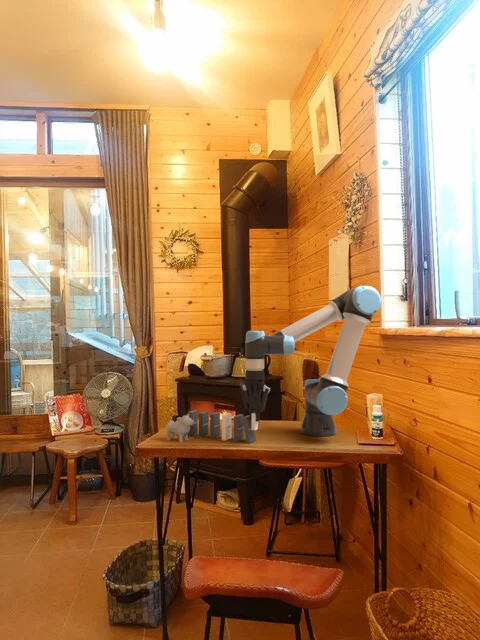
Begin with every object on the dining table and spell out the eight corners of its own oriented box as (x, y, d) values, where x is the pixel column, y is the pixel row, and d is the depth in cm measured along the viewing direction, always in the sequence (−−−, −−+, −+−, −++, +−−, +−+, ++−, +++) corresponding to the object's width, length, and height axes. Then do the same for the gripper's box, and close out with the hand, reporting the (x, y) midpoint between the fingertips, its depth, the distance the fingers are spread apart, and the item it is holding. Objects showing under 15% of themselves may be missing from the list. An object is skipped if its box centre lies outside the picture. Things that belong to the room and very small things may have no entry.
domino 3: (220, 436, 188) (220, 412, 188) (214, 439, 183) (213, 414, 184) (216, 436, 189) (216, 412, 189) (209, 438, 184) (209, 414, 185)
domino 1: (197, 434, 193) (197, 410, 193) (191, 436, 188) (191, 412, 189) (193, 433, 194) (193, 410, 194) (187, 435, 189) (187, 412, 190)
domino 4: (243, 439, 183) (243, 414, 183) (238, 442, 178) (238, 416, 179) (239, 438, 184) (239, 414, 184) (233, 441, 179) (233, 416, 180)
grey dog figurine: (188, 443, 176) (188, 416, 176) (164, 439, 183) (164, 413, 183) (196, 441, 180) (196, 414, 181) (172, 437, 187) (172, 411, 188)
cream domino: (231, 437, 185) (231, 413, 186) (225, 440, 181) (225, 415, 181) (227, 437, 186) (227, 413, 187) (221, 440, 182) (221, 415, 182)
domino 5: (255, 440, 180) (252, 414, 182) (250, 442, 176) (246, 417, 177) (251, 440, 181) (247, 415, 182) (246, 443, 177) (242, 417, 178)
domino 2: (208, 435, 190) (208, 411, 191) (202, 437, 186) (202, 413, 186) (204, 434, 191) (204, 411, 192) (198, 437, 187) (198, 413, 187)
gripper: (273, 369, 179) (273, 429, 178) (244, 368, 185) (243, 426, 184) (266, 370, 172) (266, 433, 172) (235, 369, 178) (235, 429, 177)
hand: (254, 429), depth 178 cm, fingers closed
